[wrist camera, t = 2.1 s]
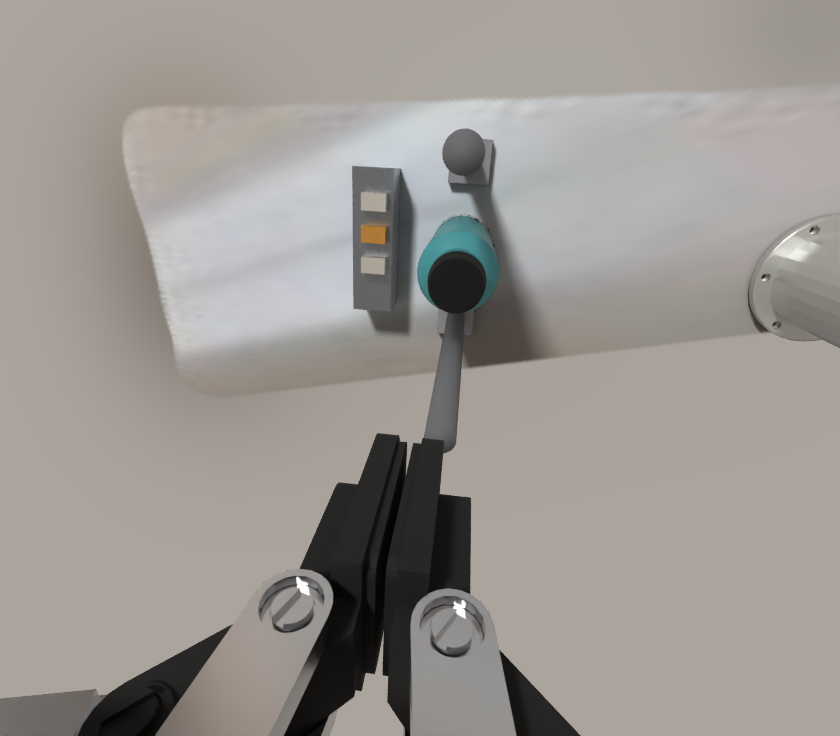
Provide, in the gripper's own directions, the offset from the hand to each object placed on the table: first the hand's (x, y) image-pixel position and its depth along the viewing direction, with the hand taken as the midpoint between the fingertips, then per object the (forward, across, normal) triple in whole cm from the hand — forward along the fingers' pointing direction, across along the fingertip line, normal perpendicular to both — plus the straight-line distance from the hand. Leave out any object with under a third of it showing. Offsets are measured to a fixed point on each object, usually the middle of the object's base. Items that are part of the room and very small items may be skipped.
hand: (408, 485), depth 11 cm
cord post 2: (+40, 0, +8) cm, 41 cm away
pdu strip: (+40, +9, 0) cm, 41 cm away
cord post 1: (+40, 0, -8) cm, 41 cm away
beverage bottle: (+41, 0, 0) cm, 41 cm away
